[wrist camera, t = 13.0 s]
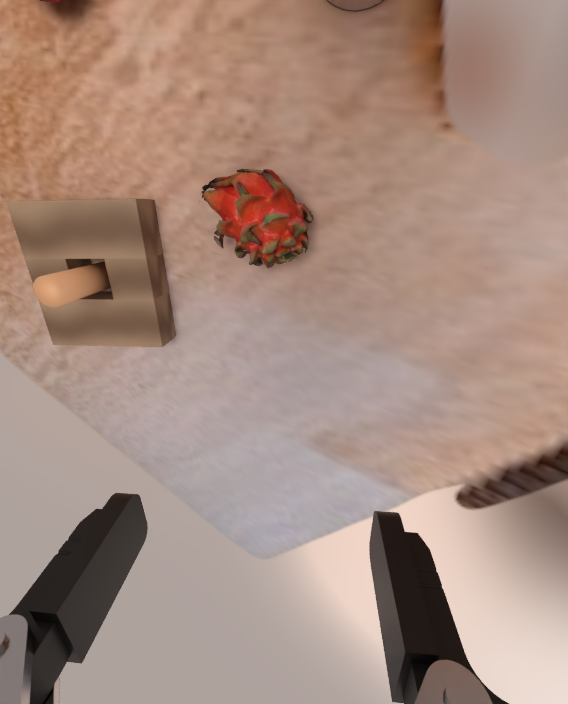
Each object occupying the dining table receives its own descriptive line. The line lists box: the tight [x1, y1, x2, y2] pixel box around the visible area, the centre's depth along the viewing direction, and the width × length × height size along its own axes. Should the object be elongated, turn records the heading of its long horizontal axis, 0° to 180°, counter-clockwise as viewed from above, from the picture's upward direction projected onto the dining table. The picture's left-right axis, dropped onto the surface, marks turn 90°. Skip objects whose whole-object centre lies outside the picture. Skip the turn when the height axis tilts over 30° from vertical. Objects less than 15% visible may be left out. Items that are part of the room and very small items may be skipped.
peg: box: [33, 261, 111, 307], centre depth 35 cm, size 3×3×10 cm
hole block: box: [6, 199, 176, 347], centre depth 37 cm, size 16×14×4 cm
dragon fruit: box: [202, 169, 314, 268], centre depth 32 cm, size 8×8×12 cm
